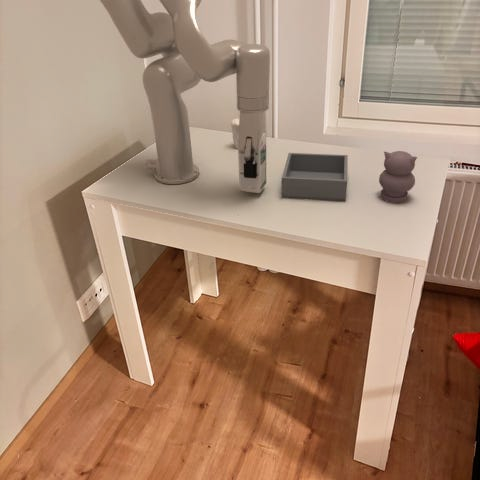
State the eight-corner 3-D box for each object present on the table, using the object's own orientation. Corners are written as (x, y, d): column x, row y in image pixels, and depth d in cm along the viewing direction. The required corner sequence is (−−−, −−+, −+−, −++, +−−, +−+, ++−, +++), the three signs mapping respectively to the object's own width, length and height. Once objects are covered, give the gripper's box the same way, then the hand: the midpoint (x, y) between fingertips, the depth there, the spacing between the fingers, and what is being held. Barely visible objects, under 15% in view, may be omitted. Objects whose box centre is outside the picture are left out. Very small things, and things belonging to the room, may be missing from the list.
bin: (281, 197, 120) (281, 177, 117) (288, 171, 133) (288, 152, 130) (345, 201, 117) (347, 181, 114) (345, 173, 130) (347, 155, 127)
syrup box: (260, 193, 119) (260, 139, 111) (238, 190, 121) (237, 137, 113) (266, 183, 124) (267, 131, 116) (245, 180, 125) (244, 128, 117)
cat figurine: (414, 193, 119) (422, 148, 113) (409, 207, 113) (417, 161, 107) (380, 187, 123) (386, 143, 116) (373, 200, 117) (379, 155, 110)
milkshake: (243, 151, 146) (242, 120, 141) (229, 148, 149) (227, 117, 143) (251, 146, 149) (250, 115, 144) (237, 143, 152) (235, 113, 146)
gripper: (243, 90, 117) (244, 156, 127) (229, 113, 103) (231, 186, 113) (273, 91, 116) (271, 158, 126) (263, 115, 102) (261, 188, 112)
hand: (252, 171), depth 120 cm, fingers closed on syrup box, 6 cm apart
